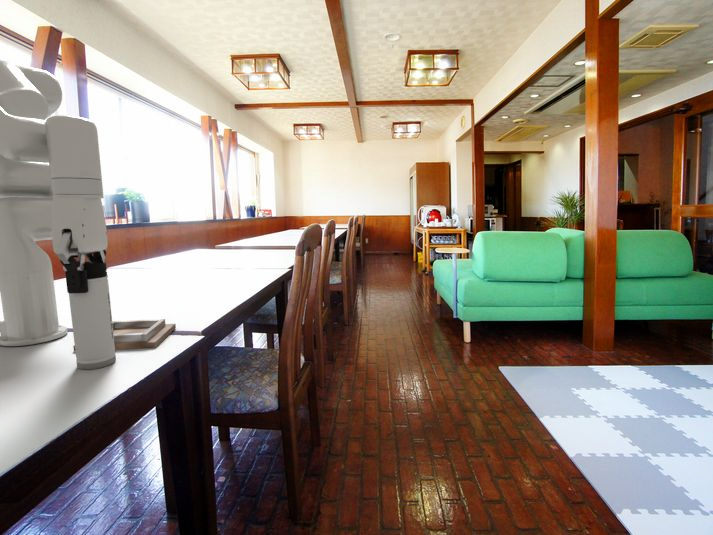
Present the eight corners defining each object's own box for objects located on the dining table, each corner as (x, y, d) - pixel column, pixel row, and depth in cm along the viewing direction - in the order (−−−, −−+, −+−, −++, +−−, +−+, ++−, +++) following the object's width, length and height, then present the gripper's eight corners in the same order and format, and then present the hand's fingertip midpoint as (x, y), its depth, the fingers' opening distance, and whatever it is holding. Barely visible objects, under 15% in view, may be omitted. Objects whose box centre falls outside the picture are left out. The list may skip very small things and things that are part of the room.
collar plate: (73, 351, 85) (72, 338, 84) (106, 331, 98) (104, 320, 98) (155, 347, 87) (154, 335, 86) (175, 328, 100) (175, 317, 100)
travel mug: (67, 367, 76) (54, 260, 73) (100, 355, 82) (90, 256, 79) (90, 372, 74) (78, 262, 71) (123, 359, 80) (113, 257, 77)
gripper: (81, 191, 81) (90, 281, 84) (22, 187, 64) (36, 300, 67) (121, 191, 82) (129, 280, 85) (74, 187, 65) (86, 298, 68)
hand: (88, 288), depth 76 cm, fingers closed on travel mug, 6 cm apart
